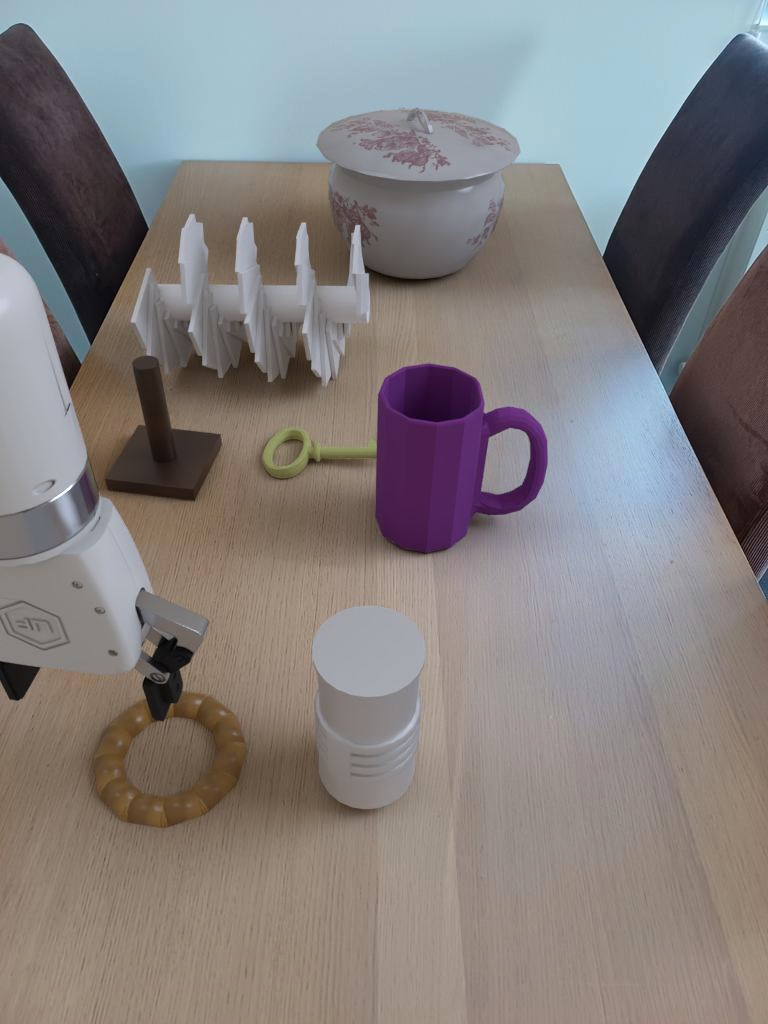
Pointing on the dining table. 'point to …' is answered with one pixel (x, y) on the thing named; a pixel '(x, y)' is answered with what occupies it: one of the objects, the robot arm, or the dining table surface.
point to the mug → (443, 456)
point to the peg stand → (161, 446)
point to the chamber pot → (417, 187)
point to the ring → (185, 803)
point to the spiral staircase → (249, 310)
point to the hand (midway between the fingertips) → (96, 692)
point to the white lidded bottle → (367, 704)
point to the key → (310, 452)
